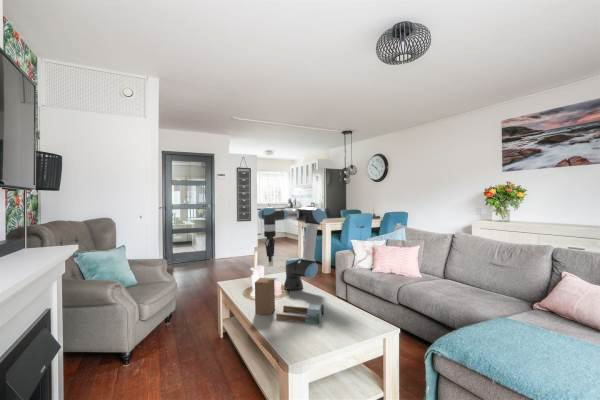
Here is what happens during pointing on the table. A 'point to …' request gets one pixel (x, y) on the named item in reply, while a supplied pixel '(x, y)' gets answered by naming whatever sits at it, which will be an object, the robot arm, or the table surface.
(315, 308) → the slate block
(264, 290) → the wooden block
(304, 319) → the lane wall camera side
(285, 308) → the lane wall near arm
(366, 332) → the table surface
